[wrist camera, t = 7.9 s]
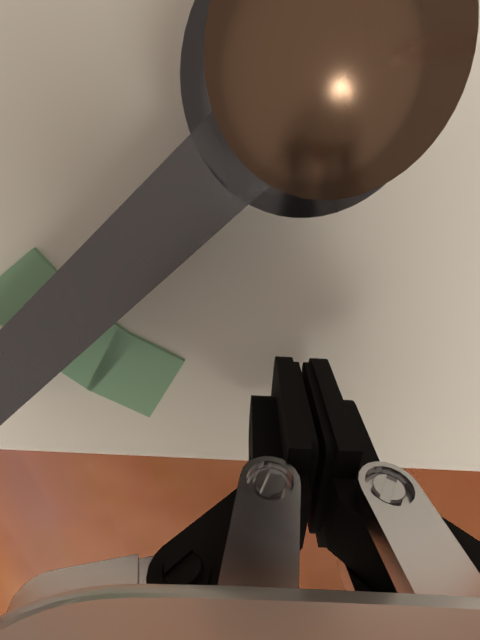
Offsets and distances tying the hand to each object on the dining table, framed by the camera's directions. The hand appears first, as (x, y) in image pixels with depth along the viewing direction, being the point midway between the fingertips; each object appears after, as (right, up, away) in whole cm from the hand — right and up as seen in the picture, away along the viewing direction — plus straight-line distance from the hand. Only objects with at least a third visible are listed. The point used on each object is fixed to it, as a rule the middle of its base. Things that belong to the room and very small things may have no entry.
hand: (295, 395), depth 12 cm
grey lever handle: (-5, +5, -1) cm, 7 cm away
